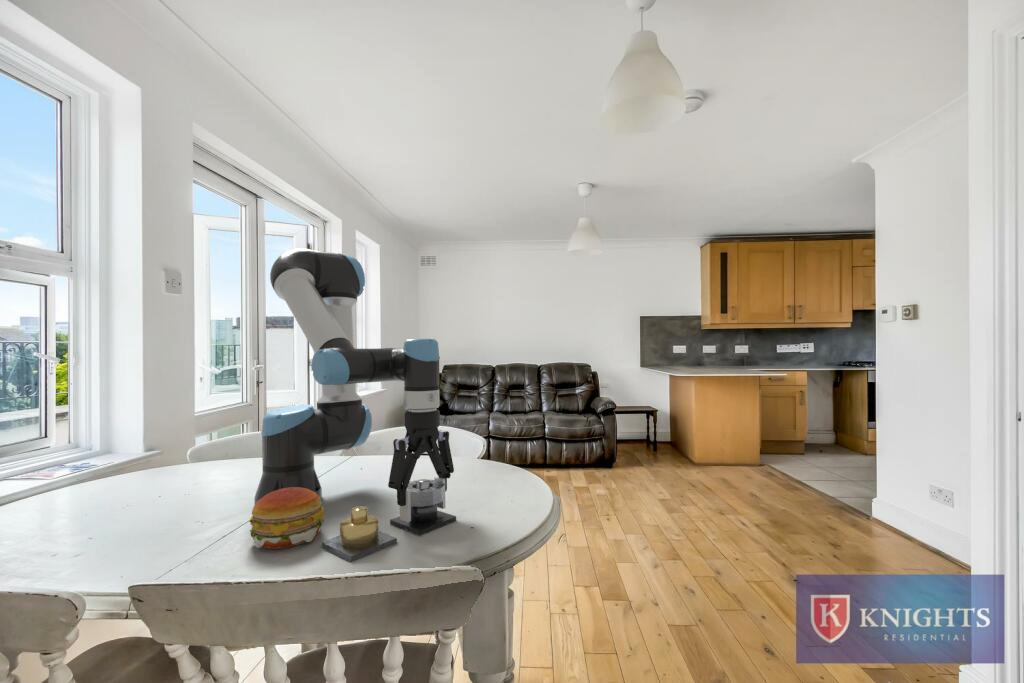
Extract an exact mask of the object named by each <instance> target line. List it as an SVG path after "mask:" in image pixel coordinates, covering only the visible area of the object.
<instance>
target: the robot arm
mask: <svg viewBox="0 0 1024 683" xmlns="http://www.w3.org/2000/svg"><path fill="white" fill-rule="evenodd" d="M365 275H366V274H365V272H364V268H363V266H362V264H361V262H359V261H358V259H357V258H355V257H354V256H351V255H346V254H343V253H335V252H327V251H319V250H314V249H308V248H294V249H290V250H287V251H286V252H283V253H282V254H281V255H279V256H278V258H277V259H275V261H274V262H273V264H272V266H271V269H270V275H269V277H270V278H269V280H270V283H271V287H272V289H273V291H274V293H275V294H276V296H277V297H278V298H279V299H281V300H282V301H284V302H285V303H286V305H287V306H288V308H289V309H290V311H291V313H292V315H293V317H294V319H295V320H296V322H297V324H298V326H299V328H300V329H301V331H302V333H303V334H304V336H305V338H306V339H307V342H308V343H309V344H310V347H311V348H312V350H313V352H314V355H313V356H312V359H311V370H312V375H313V378H314V381H316V382H317V383H318V384H320V385H321V391H322V392H321V397H320V398H319V399H318V400H317V401H316V409H315V408H314V406H313V405H312V404H299V405H291V406H286V407H281V408H277V409H273V410H271V411H270V412H268V413H266V414H265V415H264V417H263V419H262V426H261V432H260V433H261V439H262V440H261V442H262V446H261V447H262V449H261V450H262V454H261V455H262V463H261V464H262V475H261V477H260V480H259V483H258V485H257V489H256V492H255V495H254V502H253V503H254V505H255V504H256V503H257V501H259V500H260V499H261V498H262V497H264V496H265V495H267V494H269V493H271V492H273V491H276V490H279V489H283V488H289V487H301V488H306V489H309V490H311V491H313V492H316V494H317V495H318V496H319V497H320V498H321V499H322V498H323V496H322V495H323V493H322V492H323V490H322V486H321V483H320V481H319V478H318V475H317V471H316V469H315V456H316V455H320V454H327V453H331V452H337V451H342V450H347V451H348V450H350V449H353V448H357V447H361V446H362V445H364V443H366V441H367V439H368V438H369V437H370V434H371V431H372V426H373V419H372V418H373V417H372V413H371V412H370V408H369V407H368V405H366V404H364V403H363V399H362V397H361V396H360V395H359V394H358V393H357V388H356V384H363V383H380V382H381V383H382V382H393V381H394V382H396V381H397V382H404V383H403V384H404V386H403V387H404V389H403V390H404V391H403V392H404V395H403V398H404V399H403V401H404V402H403V403H404V405H403V407H404V409H406V411H405V412H404V428H405V430H406V433H405V436H404V437H403V438H401V439H398V438H395V439H393V443H392V444H393V456H392V462H391V465H390V466H391V468H390V472H389V478H388V484H387V487H388V488H390V489H393V490H396V504H397V505H398V506H399V516H400V520H403V521H406V522H410V521H411V490H410V489H407V487H408V484H409V482H411V479H412V475H413V472H414V470H415V467H416V464H417V462H418V460H419V459H420V457H421V455H422V454H424V453H427V455H428V457H429V460H430V462H431V463H432V466H433V468H434V471H435V473H436V475H437V476H436V477H434V479H433V480H437V481H441V482H443V483H444V484H445V492H447V491H448V479H451V474H453V473H454V472H455V468H454V467H455V466H454V464H453V463H454V462H453V456H452V453H451V452H452V451H451V445H450V432H449V431H448V430H442V429H441V430H440V429H439V427H440V425H441V419H440V418H441V415H440V414H441V412H440V410H439V407H440V405H441V404H440V358H441V357H440V350H439V347H440V346H439V342H438V341H437V340H436V339H435V338H407V339H406V340H404V343H403V347H402V348H401V347H399V348H398V347H385V348H384V347H383V348H355V347H354V346H355V345H354V326H353V324H354V323H353V307H354V305H355V304H357V302H358V297H360V296H361V295H362V294H363V292H364V290H365V288H364V287H365V284H366V276H365ZM437 408H438V409H437ZM254 505H253V506H254ZM438 508H439V509H442V510H443V509H446V498H445V499H444V500H443V501H442V502H440V503H438V504H437V509H438Z"/></svg>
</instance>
